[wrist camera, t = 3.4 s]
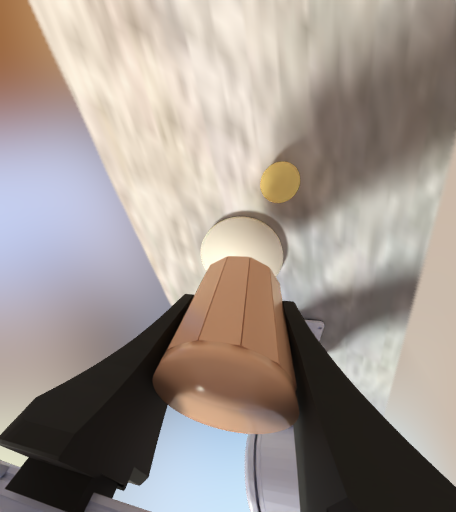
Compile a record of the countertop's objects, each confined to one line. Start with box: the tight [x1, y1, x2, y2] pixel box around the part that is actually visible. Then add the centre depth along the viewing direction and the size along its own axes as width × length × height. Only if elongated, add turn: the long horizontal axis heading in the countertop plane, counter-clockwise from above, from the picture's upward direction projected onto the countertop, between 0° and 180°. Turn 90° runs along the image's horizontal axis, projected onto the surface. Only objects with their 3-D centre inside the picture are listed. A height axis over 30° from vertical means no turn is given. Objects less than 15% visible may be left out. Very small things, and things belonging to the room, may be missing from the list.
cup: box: [152, 256, 299, 434], centre depth 9 cm, size 6×6×7 cm
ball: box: [260, 162, 300, 203], centre depth 13 cm, size 3×3×3 cm
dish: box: [201, 216, 283, 277], centre depth 18 cm, size 9×9×1 cm
